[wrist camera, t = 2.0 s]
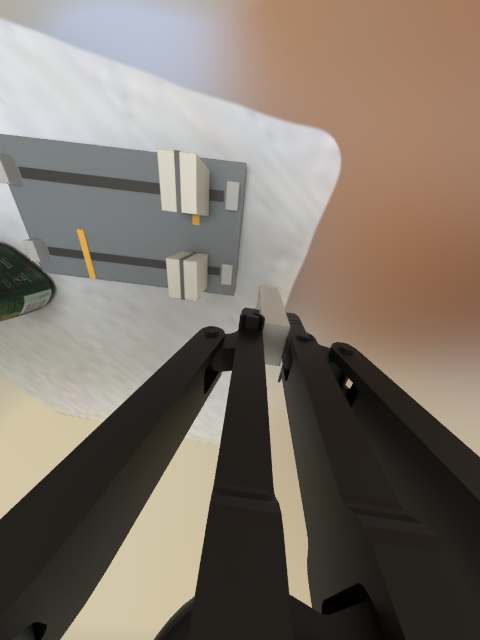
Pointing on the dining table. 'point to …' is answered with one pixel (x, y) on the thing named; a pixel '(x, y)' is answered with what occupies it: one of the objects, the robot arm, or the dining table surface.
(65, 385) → the dining table surface
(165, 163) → the fader
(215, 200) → the console
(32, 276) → the coffee jar
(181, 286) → the fader
